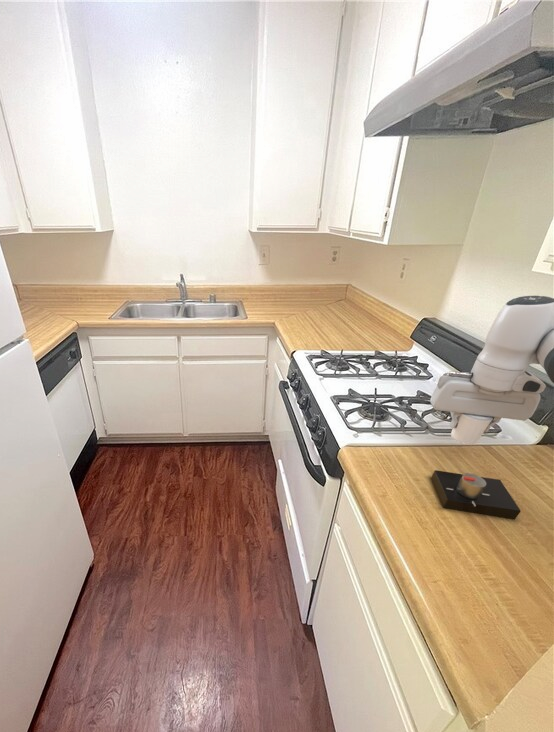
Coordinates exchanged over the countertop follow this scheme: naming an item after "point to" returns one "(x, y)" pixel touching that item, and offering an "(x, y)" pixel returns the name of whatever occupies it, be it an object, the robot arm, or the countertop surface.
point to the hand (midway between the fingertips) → (468, 429)
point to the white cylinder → (470, 427)
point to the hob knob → (471, 486)
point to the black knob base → (489, 502)
